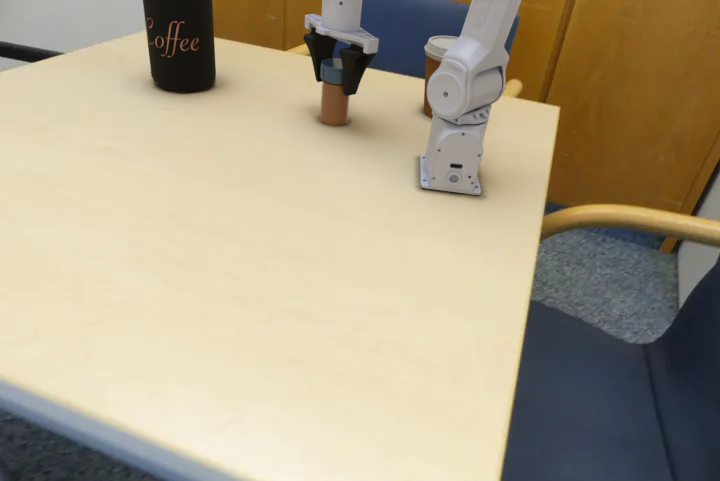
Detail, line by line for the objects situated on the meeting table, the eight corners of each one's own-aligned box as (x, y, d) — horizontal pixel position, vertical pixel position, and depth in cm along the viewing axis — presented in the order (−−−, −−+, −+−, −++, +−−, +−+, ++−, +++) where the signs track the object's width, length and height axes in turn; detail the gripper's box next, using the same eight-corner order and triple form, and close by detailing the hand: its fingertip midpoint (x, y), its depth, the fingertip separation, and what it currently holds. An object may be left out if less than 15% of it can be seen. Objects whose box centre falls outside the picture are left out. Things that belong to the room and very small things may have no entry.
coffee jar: (139, 86, 93) (124, -32, 83) (174, 68, 102) (164, -40, 92) (196, 98, 91) (187, -20, 81) (227, 79, 100) (223, -30, 90)
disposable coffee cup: (403, 107, 97) (413, 37, 90) (441, 99, 102) (454, 33, 96) (440, 128, 91) (455, 54, 85) (479, 118, 97) (496, 48, 90)
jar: (349, 125, 88) (354, 73, 84) (322, 125, 87) (325, 72, 83) (344, 114, 92) (349, 63, 87) (318, 114, 91) (321, 62, 86)
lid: (354, 74, 88) (355, 60, 87) (352, 85, 84) (354, 70, 82) (321, 70, 88) (322, 56, 87) (318, 82, 83) (319, 66, 82)
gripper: (289, -16, 81) (287, 76, 88) (355, 8, 72) (346, 107, 80) (327, -18, 85) (321, 70, 93) (393, 4, 77) (381, 99, 84)
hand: (335, 87), depth 87 cm, fingers open, 6 cm apart
